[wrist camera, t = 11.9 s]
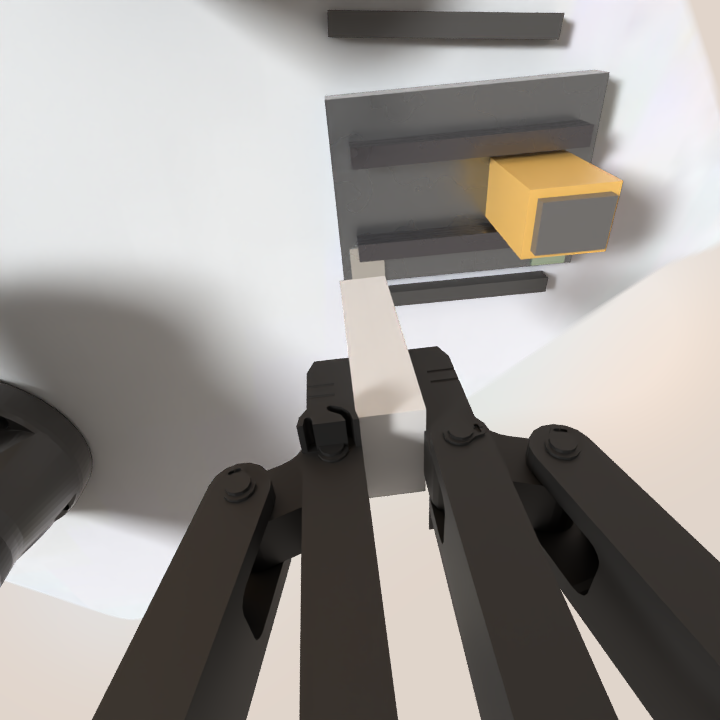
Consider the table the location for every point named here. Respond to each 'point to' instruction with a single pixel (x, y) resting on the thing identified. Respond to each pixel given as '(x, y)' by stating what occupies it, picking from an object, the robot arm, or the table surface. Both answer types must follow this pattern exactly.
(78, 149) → the table surface
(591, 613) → the robot arm
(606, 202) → the toggle
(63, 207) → the table surface
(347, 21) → the bar
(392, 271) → the panel
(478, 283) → the dark grey long bar
